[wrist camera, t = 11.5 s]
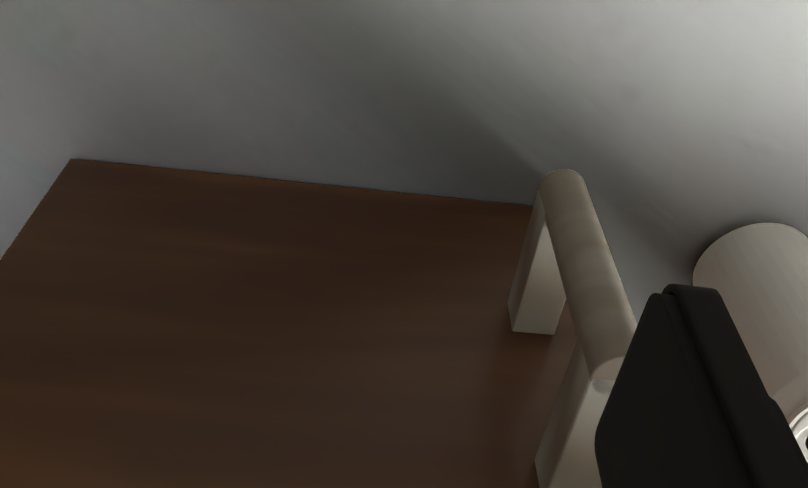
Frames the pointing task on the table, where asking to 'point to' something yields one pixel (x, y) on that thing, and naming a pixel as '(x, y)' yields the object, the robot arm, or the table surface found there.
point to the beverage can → (767, 308)
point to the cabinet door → (304, 335)
